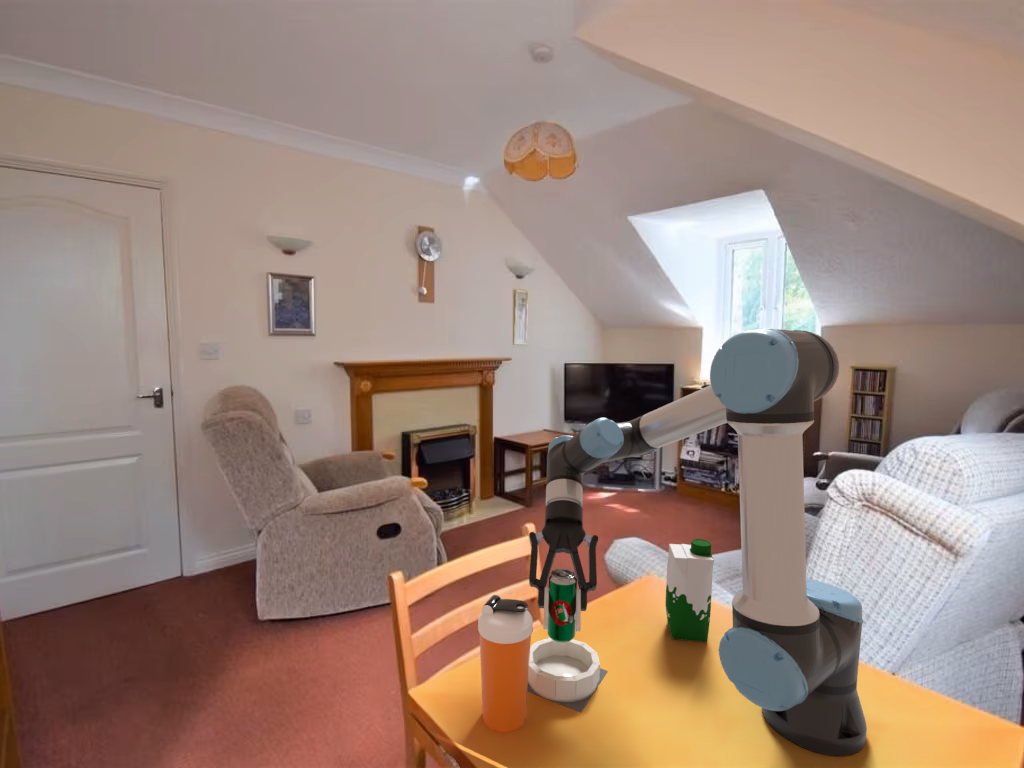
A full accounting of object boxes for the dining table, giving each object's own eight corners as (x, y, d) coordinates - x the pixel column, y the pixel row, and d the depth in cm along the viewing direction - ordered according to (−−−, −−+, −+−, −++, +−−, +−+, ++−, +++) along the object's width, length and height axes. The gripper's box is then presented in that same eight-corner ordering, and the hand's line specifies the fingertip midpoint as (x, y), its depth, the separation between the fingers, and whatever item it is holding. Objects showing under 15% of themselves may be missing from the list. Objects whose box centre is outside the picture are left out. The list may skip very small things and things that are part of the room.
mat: (607, 673, 102) (607, 671, 102) (580, 714, 91) (580, 712, 91) (546, 651, 108) (546, 649, 108) (513, 687, 97) (513, 685, 97)
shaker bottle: (525, 742, 84) (528, 620, 82) (470, 733, 86) (471, 613, 84) (534, 704, 93) (537, 592, 91) (484, 696, 95) (485, 587, 93)
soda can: (559, 625, 103) (561, 564, 101) (580, 636, 99) (582, 573, 98) (541, 635, 99) (543, 573, 98) (562, 647, 96) (564, 582, 94)
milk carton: (712, 645, 111) (717, 551, 110) (667, 641, 113) (671, 548, 111) (703, 622, 120) (708, 535, 118) (662, 619, 121) (665, 532, 119)
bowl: (608, 670, 102) (609, 650, 101) (581, 712, 90) (581, 690, 90) (545, 649, 108) (546, 630, 108) (512, 685, 97) (513, 664, 97)
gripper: (607, 517, 112) (611, 637, 97) (520, 513, 113) (511, 630, 99) (610, 500, 106) (615, 625, 91) (518, 496, 108) (509, 618, 93)
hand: (561, 627), depth 95 cm, fingers closed on soda can, 5 cm apart
